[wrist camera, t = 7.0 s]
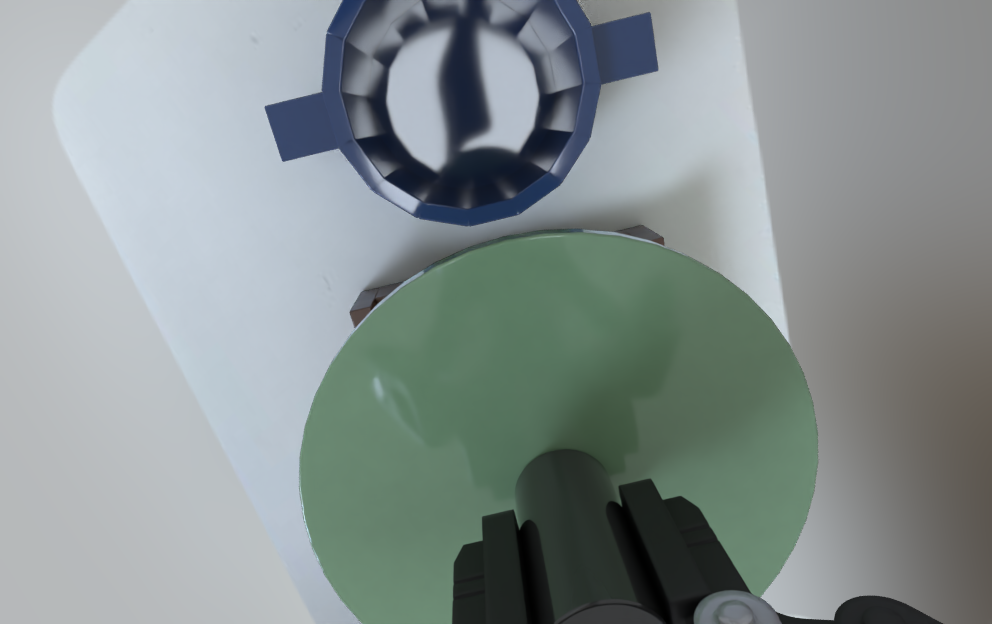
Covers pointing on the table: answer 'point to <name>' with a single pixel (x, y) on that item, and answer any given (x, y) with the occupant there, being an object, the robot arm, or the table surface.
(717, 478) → the lid
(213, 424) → the table surface
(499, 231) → the table surface
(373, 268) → the table surface
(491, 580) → the robot arm
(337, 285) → the table surface
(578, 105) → the pot
